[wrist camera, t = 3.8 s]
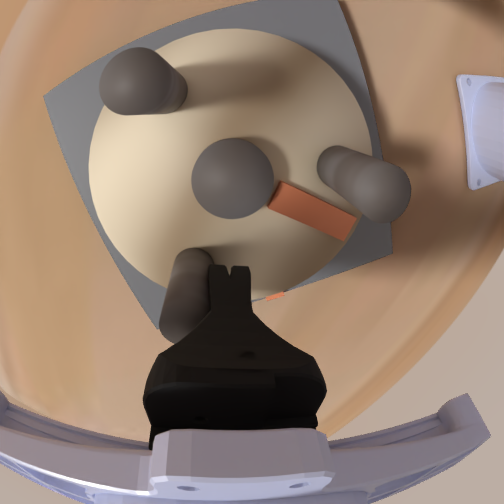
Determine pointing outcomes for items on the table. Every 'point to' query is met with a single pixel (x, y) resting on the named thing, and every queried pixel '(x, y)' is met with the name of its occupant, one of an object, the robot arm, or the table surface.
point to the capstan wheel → (232, 165)
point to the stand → (238, 16)
